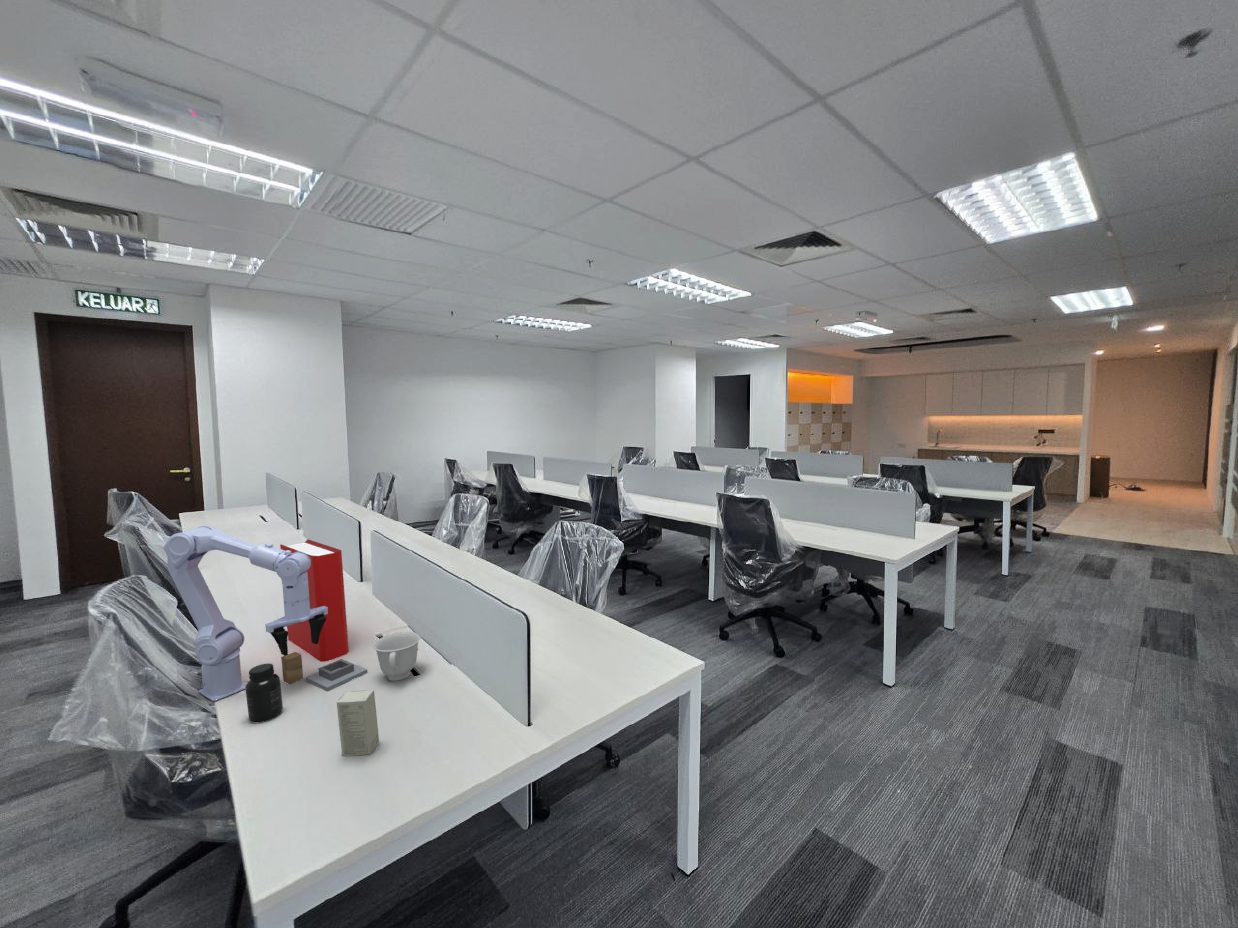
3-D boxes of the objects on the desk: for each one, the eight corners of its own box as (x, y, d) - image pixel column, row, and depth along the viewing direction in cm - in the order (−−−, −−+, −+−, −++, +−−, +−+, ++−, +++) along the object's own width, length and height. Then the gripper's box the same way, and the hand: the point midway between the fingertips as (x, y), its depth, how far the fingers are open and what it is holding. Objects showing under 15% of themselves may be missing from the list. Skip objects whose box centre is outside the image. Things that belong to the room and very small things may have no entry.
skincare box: (379, 742, 109) (376, 689, 108) (370, 755, 105) (366, 700, 104) (350, 743, 109) (346, 690, 108) (339, 756, 105) (335, 701, 104)
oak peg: (283, 681, 137) (281, 656, 136) (296, 675, 140) (294, 651, 139) (289, 684, 135) (287, 659, 134) (303, 678, 138) (301, 654, 137)
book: (288, 639, 164) (280, 544, 161) (314, 631, 170) (307, 539, 167) (322, 663, 147) (314, 556, 144) (350, 652, 153) (343, 550, 150)
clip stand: (305, 680, 137) (304, 670, 136) (345, 663, 146) (344, 653, 146) (327, 691, 131) (326, 680, 131) (367, 672, 140) (366, 662, 140)
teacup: (368, 695, 128) (366, 658, 127) (379, 668, 142) (377, 634, 142) (418, 688, 131) (416, 651, 130) (424, 662, 146) (422, 629, 145)
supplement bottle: (277, 703, 125) (273, 658, 124) (287, 713, 121) (283, 666, 120) (244, 716, 120) (240, 669, 119) (253, 727, 116) (248, 677, 115)
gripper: (273, 611, 124) (277, 663, 125) (332, 593, 136) (335, 641, 137) (260, 605, 128) (264, 656, 129) (318, 589, 140) (322, 635, 141)
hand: (300, 648), depth 133 cm, fingers open, 7 cm apart
